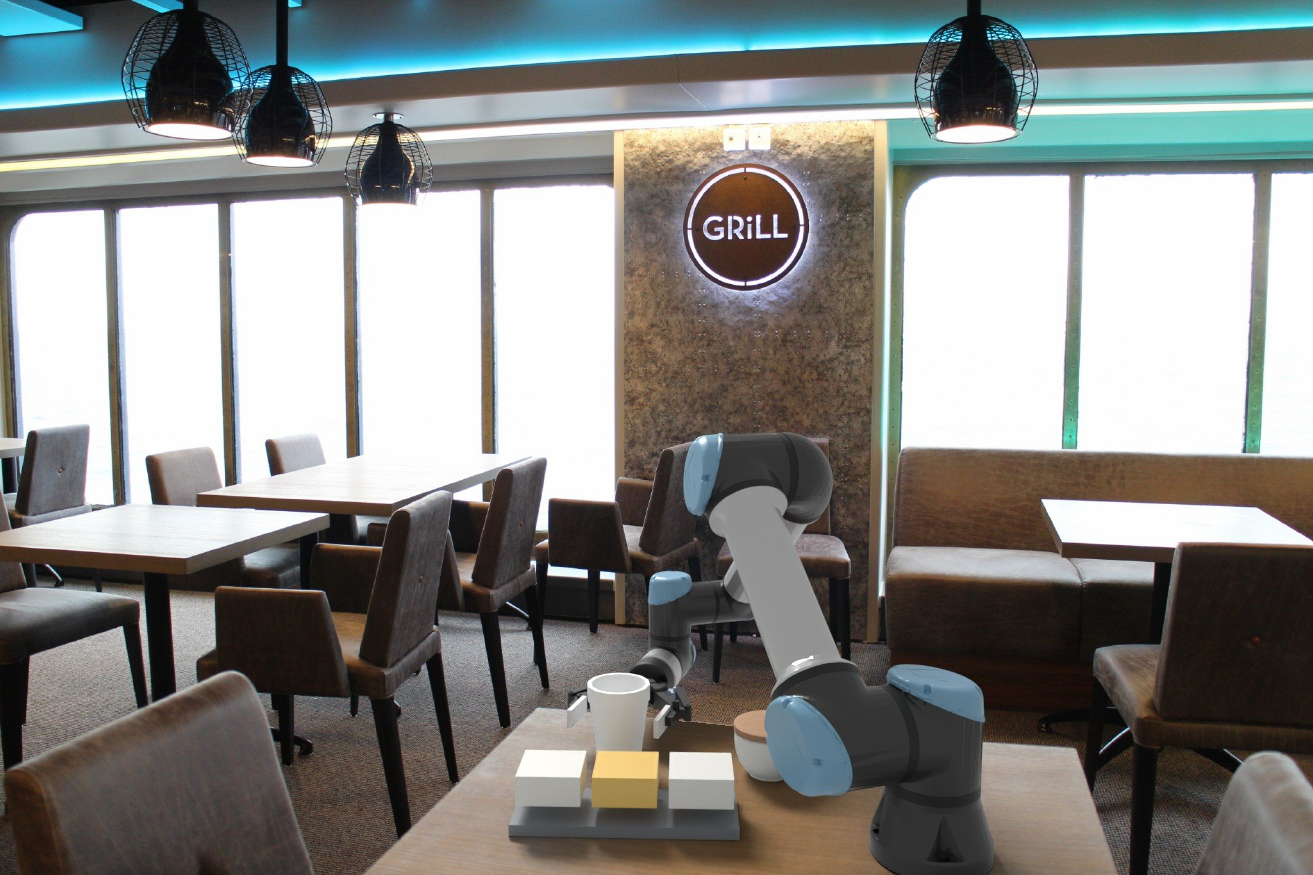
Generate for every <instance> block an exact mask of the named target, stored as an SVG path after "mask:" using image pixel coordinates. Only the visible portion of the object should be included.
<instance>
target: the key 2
mask: <svg viewBox="0 0 1313 875" xmlns="http://www.w3.org/2000/svg"><path fill="white" fill-rule="evenodd" d="M668 762H669V763H668V764H669V766H668V790H669V809H727V810H734V791H735V775H734V767H733V757H732V753H731V752H698V751H697V752H693V751H687V752H686V751H683V752H682V751H669V761H668Z"/></svg>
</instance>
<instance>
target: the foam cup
mask: <svg viewBox="0 0 1313 875" xmlns="http://www.w3.org/2000/svg"><path fill="white" fill-rule="evenodd" d="M586 685H587V692H588V702H589V703H590V709H589V710H590V715H591V724H592V731H593V738H594V746H595V753H596V754H595V755H596V756H597V751H637V752H643V745H644V737H645V736H644V735H645V728H646V722H647V714H648V708H649V707H648V701H649V700H650V683H649V680H648V679H646V678H644V677H643V676H640V675H635V674H631V673H629V672H611V673H610V672H609V673H602V674H600V675H596V676H593V677H591V678H590V679H589V680H588V681H587V684H586Z"/></svg>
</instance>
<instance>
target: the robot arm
mask: <svg viewBox="0 0 1313 875" xmlns="http://www.w3.org/2000/svg"><path fill="white" fill-rule="evenodd" d="M683 470H684V472H683V497H684V501H685V506H686V508H687V510H688V512H689V513H690V514H692V515H694V516H695V515H696V516H698V517H700V516H702V515H704V516H706V519H707V521H708V524H709V527H710V529H711V531H712V532H713V533H714V534H715V535H717V536H719V537H722V538H725V540H726V543H727V546H728V549H729V551H730V553H731V557H732V559H733V561H732V563H731V564H730V566H729V568H728V569H727V572H726V573H725V575H724V576H723V578H722V579H717V580H708V581H707V580H706V581H697V582H696V581H693V582H692V577H691V575H690V574H688V573H686V572H683V571H678V570H677V571H676V570H675V571H672V570H667V571H666V570H665V571H660V572H655V573H654V574H653V575H651V577H650V579H649V586H648V597H647V602H648V651H647V652H646V654H645V655H644V656H642V657H641V658H640V659H639V661H637V662H636V663H635V664H634V665H633V666H632V667H631V668H630V670H629V671H628V673H631V674H635V675H640V676H643V677H644V678H646V679H648V680H649V683H650V700H649V701H648V708H649V707H650V708H652V709H653V710H658V711H659V713H658V714H657V715H656V717H655V718H654V719H653V721H652V722H653V726H652V727H653V733H652V734H653V735H652V736H653V739H660V737H661V736H662V735H663V733H664V732H665V731H666V729H667V728H669V727H670V728H672V727H673V726H674V725H675V724H676V723H677V722H679V721H680V720H683V722H685V723H686V722H688V723H690V722H692V716H693V715H692V714H693V713H692V712H693V711H692V709H693V707H692V703H691V702H690V699H689V698H688V695H686V693H685V685H684V684H682V683H681V684H680V682H681V680H682V679H683V678H685V677H686V676H687V675H688V674H689V673H690V671H691V669H692V667H693V666H694V663H695V661H696V656H697V651H696V650H697V649H696V647H695V645H694V643H693V640H692V638H691V637H692V631H691V630H692V626H696V625H706V624H708V625H709V624H716V623H717V624H719V623H729V622H739V621H740V622H741V621H742V622H748V621H752V620H754V621H755V624H756V626H757V627H756V628H757V629H758V632H759V635H760V638H761V640H762V644H763V646H764V648H765V651H766V653H767V657H768V659H769V660H768V661H769V662H770V665H771V668H772V670H773V671H772V672H773V673H774V676H775V678H776V683H775V684H774V686H773V688H772V690H771V692H770V701H771V702H770V703H769V705H768V706H767V708H766V709H765V710H766V714H765V720H764V727H765V731H766V733H767V735H768V737H767V738H766V742H767V746H768V750H769V753H770V756H771V758H772V761H773V763H774V765H775V767H776V769H777V771H778V772H779V774H780V775H781V777H782V778H783V780H782V781H784V782H785V783H786V784H787V785H788V786H789V787H790V788H791V789H792V790H794V791H796V792H797V793H799V794H800V795H802V796H806V797H819V796H831V797H833V796H834V797H835V796H842V795H844V794H846V793H850V792H855V791H861V790H867V789H868V790H869V789H873V788H878V787H884V788H883V791H882V793H881V796H880V799H879V801H878V804H877V805H876V809H875V812H874V815H873V817H872V820H871V822H870V825H869V835H868V837H869V838H868V848H869V851H870V853H871V855H872V856H873V858H874V859H875V860H876V861H877V862H878V863H879V864H881V865H882V866H883V867H885V868H887V869H888V870H890V871H892V872H895V873H896V874H898V875H987V874H989V873H990V871H991V870H992V868H993V866H994V854H995V845H994V841H993V840H994V839H993V835H992V834H991V830H990V827H989V822H988V819H987V816H986V813H985V810H984V805H983V803H982V774H983V773H982V772H983V771H982V769H983V745H984V742H983V741H984V728H985V727H984V726H985V722H986V717H985V708H984V705H985V704H984V695H983V691H982V689H981V688H980V686H978V684H977V683H975V682H974V681H973V680H972V679H969V678H967V677H966V676H964V675H962V674H958V673H956V672H953V671H950V670H946V669H942V668H939V667H933V666H928V665H921V664H911V663H909V664H897V665H893V666H892V667H890V668H889V669H888V671H887V675H885V680H886V682H887V683H885V684H880V685H878V684H877V685H873V686H872V685H870V686H868V685H866V683H865V680H864V679H863V676H862V674H861V671H860V668H859V667H858V666H857V664H856V663H854V662H852V661H851V660H847V659H845V658H842V657H841V655H840V652H839V650H838V648H837V645H836V643H835V639H834V638H833V635H832V633H831V631H830V627H829V625H828V624H827V620H826V618H825V616H824V614H823V611H822V609H821V606H820V604H819V601H818V599H817V596H816V595H815V592H814V589H813V587H812V585H811V582H810V579H809V577H808V574H807V573H806V570H805V567H804V565H803V562H802V561H801V558H800V555H799V554H798V551H797V548H796V546H795V545H796V544H797V542H798V540H799V539H800V537H801V535H802V534H803V532H804V530H805V529H806V527H807V526H808V525H811V524H813V523H815V522H816V521H818V520H819V519H820V518H821V516H822V515H823V513H824V512H825V510H826V509H827V506H829V505H828V504H829V502H830V500H831V497H832V493H833V483H834V478H833V471H832V467H831V464H830V462H829V459H828V457H827V456H826V454H825V453H824V451H823V450H822V449H821V448H820V447H819V446H818V445H817V444H816V443H815V442H814V441H813V440H811V439H810V438H808V437H806V436H805V435H801V434H799V433H795V432H789V431H780V432H779V431H777V432H754V433H752V432H748V433H747V432H746V433H723V432H719V433H717V434H715V433H714V434H707V435H701V436H698V437H697V438H695V440H693V442H692V443H691V445H690V446H689V449H688V452H687V454H686V457H685V462H684V468H683ZM588 710H590V703H589V702H588V692H587V684H585V685H582V686H580V687H577V688H574V689H570V690H567V709H566V728H569V729H573V727H574V726H575V725H576V724H578V722H580V720H582V718H583V717H584V716H585V715H587V713H588Z"/></svg>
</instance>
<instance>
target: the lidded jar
mask: <svg viewBox="0 0 1313 875" xmlns="http://www.w3.org/2000/svg"><path fill="white" fill-rule="evenodd" d="M766 710H767V709H761V710H760V709H757V710H751V711H747V712H744V713H741V714H739V715H738V716H736V717H735V719H733V732H734V733H733V734H734V736H733V737H734V747H735V752H736V756H737V758H738V761H739V763H740V764H741V766H742V767H743V768H744V769H745V771H747V772H748V775H749V777H751V778H753V779H755V780H758V781H761V782H766V783H767V782H769V783H771V782H772V783H773V782H775V783H776V782H780V781H784V780H783V778H782V777H781V775H780V774H779V772H778V771H777V769H776V767H775V765H774V763H773V761H772V758H771V756H770V753H769V750H768V746H767V742H766V738H767V737H768V735H767V733H766V731H765V727H764V720H765V714H766Z"/></svg>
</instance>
